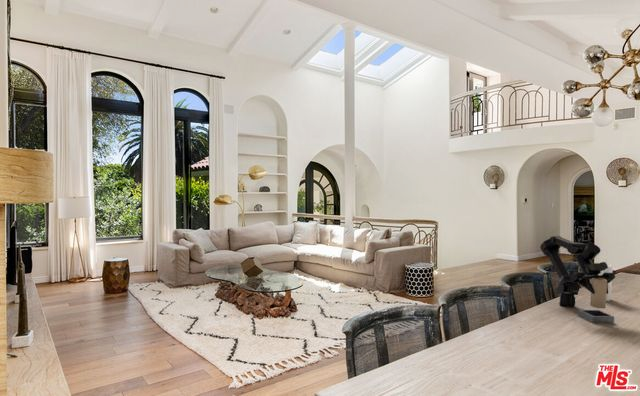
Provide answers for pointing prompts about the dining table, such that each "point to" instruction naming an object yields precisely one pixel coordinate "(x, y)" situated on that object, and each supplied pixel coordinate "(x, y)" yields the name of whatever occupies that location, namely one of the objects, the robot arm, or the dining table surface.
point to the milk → (608, 270)
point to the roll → (598, 293)
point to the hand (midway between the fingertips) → (600, 293)
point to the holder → (596, 316)
